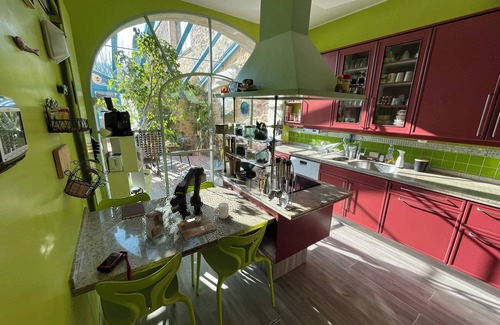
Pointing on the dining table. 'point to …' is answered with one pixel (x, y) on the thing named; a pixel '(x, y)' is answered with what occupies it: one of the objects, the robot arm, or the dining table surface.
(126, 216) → the hardcover book
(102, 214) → the dining table surface
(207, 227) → the lock base
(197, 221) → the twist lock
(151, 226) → the coffee box
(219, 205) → the mug
